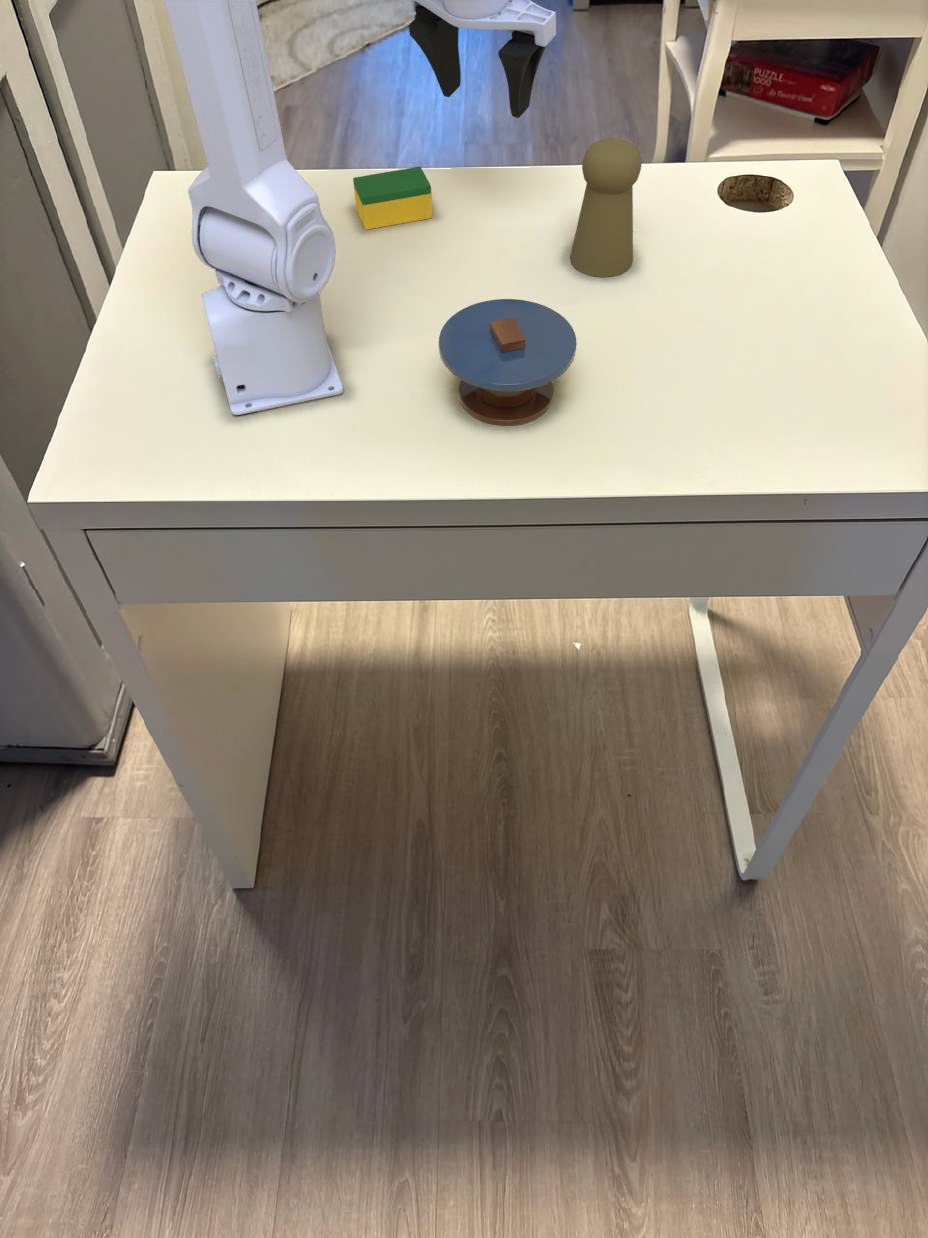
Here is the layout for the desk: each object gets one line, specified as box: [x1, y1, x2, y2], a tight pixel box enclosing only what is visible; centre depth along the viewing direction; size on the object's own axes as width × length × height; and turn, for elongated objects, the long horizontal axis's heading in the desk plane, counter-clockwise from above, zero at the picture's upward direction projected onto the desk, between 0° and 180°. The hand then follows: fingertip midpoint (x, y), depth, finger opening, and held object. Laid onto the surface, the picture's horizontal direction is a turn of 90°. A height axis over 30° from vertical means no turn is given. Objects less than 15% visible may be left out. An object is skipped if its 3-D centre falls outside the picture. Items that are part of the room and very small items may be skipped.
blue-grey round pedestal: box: [438, 298, 578, 427], centre depth 81 cm, size 11×11×6 cm
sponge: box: [352, 166, 433, 230], centre depth 99 cm, size 7×4×3 cm, turn 107°
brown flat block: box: [490, 318, 526, 353], centre depth 78 cm, size 2×3×1 cm, turn 17°
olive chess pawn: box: [569, 137, 643, 278], centre depth 90 cm, size 6×6×11 cm
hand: (485, 100), depth 92 cm, fingers open, 7 cm apart
